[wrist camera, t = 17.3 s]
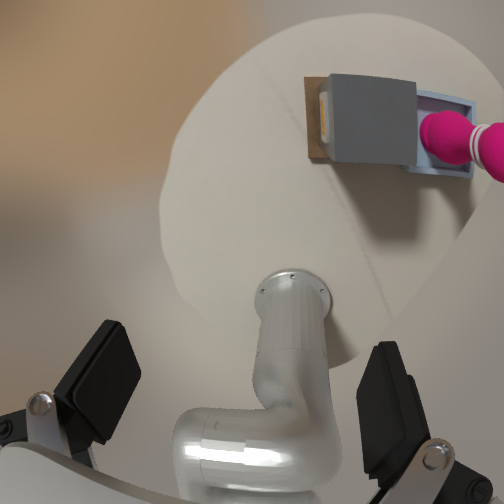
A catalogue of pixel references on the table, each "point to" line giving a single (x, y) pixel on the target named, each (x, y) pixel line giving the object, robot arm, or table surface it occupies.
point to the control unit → (362, 119)
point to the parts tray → (425, 159)
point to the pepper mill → (464, 141)
